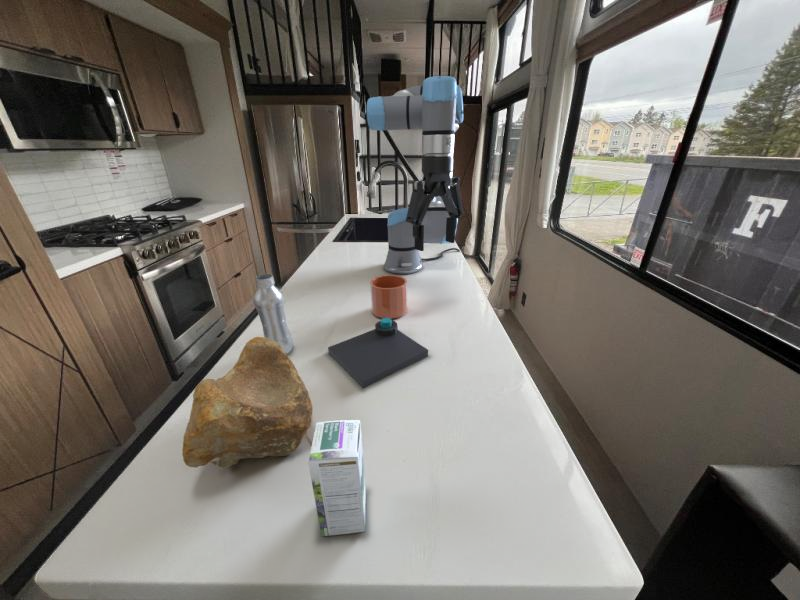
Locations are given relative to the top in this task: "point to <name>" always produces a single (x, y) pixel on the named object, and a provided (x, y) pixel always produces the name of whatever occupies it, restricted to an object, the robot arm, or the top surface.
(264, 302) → the silver water bottle
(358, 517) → the syrup box
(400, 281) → the terracotta pot
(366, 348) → the scale
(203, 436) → the rough brown rock
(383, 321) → the tare button
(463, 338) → the top surface
